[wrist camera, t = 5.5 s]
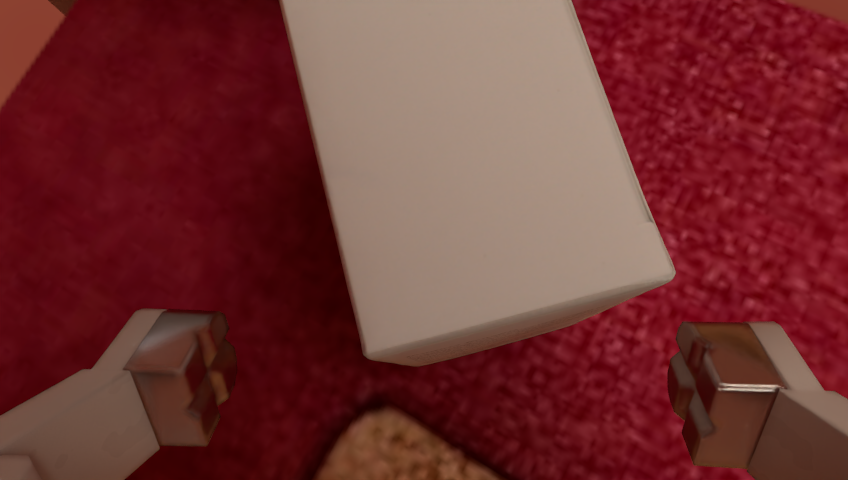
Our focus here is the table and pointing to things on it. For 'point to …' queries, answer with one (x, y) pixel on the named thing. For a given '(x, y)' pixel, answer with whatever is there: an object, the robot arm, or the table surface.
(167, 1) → the table surface
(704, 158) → the table surface
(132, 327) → the robot arm
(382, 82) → the small box
